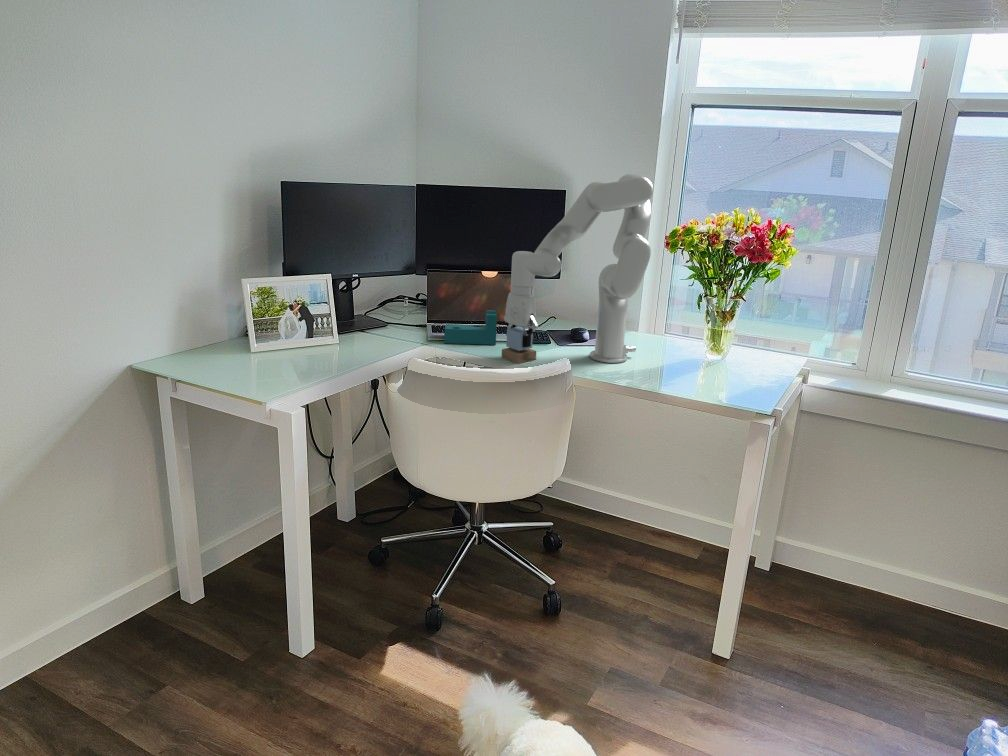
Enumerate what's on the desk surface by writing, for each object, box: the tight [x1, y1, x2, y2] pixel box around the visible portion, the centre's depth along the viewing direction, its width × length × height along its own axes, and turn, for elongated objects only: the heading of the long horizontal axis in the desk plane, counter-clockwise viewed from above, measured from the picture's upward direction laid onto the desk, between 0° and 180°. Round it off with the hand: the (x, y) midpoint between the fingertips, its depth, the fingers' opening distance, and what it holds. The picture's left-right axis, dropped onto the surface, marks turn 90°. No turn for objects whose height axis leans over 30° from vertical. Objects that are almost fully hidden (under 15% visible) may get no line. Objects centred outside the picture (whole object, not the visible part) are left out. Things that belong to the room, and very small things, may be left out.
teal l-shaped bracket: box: [443, 310, 498, 346], centre depth 259 cm, size 18×11×10 cm, turn 92°
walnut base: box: [501, 347, 537, 365], centre depth 241 cm, size 8×8×3 cm
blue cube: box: [505, 326, 534, 351], centre depth 240 cm, size 6×6×6 cm
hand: (519, 343), depth 240 cm, fingers closed on blue cube, 6 cm apart
